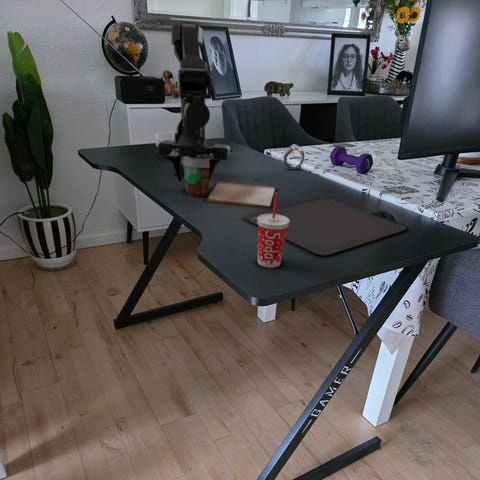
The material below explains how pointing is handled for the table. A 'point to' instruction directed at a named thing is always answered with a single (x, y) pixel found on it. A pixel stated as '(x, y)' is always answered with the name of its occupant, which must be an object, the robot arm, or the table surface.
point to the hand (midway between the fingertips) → (194, 182)
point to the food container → (196, 175)
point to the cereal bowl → (164, 136)
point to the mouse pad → (331, 226)
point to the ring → (290, 152)
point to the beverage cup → (271, 237)
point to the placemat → (242, 194)
